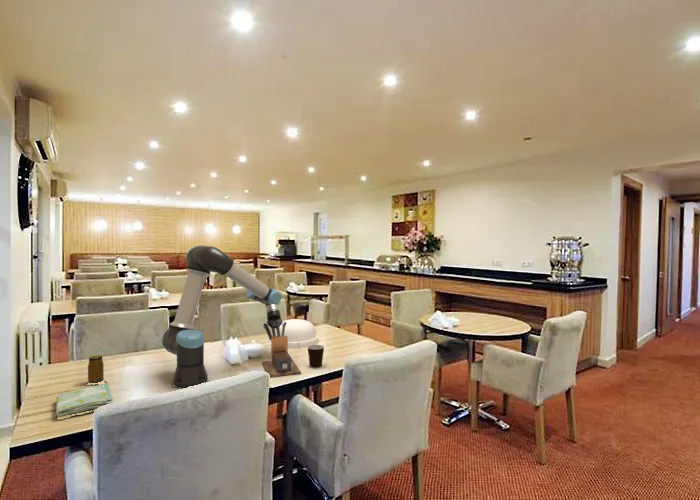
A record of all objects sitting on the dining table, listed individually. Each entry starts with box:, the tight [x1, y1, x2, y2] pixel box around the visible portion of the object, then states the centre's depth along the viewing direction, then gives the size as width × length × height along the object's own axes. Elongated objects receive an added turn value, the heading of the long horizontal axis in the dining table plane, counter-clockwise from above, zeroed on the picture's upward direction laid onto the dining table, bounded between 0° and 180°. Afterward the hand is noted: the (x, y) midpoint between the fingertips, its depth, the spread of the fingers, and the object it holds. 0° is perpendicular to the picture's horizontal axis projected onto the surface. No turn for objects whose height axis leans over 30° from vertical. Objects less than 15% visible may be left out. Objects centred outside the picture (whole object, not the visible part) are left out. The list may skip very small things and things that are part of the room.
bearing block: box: [274, 352, 292, 373], centre depth 200 cm, size 7×10×7 cm
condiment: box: [87, 355, 105, 383], centre depth 182 cm, size 7×8×12 cm
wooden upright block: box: [270, 335, 289, 369], centre depth 201 cm, size 8×16×14 cm, turn 20°
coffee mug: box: [307, 344, 325, 369], centre depth 210 cm, size 12×9×10 cm
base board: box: [261, 358, 302, 379], centre depth 204 cm, size 16×22×1 cm
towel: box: [55, 382, 113, 419], centre depth 158 cm, size 18×21×5 cm
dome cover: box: [275, 318, 320, 349], centre depth 255 cm, size 32×30×14 cm
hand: (278, 350), depth 210 cm, fingers closed
